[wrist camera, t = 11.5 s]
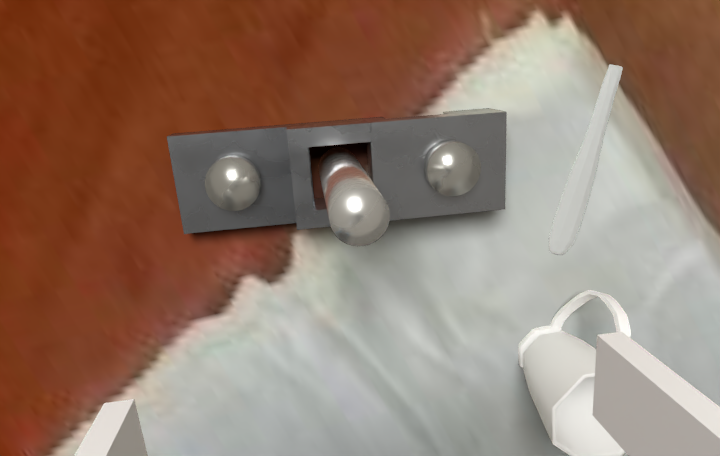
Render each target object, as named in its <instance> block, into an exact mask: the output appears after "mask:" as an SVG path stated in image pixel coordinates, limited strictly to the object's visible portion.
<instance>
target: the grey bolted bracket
mask: <svg viewBox="0 0 720 456" xmlns="http://www.w3.org/2000/svg"><path fill="white" fill-rule="evenodd" d="M167 140H168V146H169V152H170V157H171V163H172V168H173V174H174V180H175V185H176V191H177V196H178V202H179V208H180V213H181V219H182V224H183V230H184V234H188V233H198V232H208V231H219V230H229V229H239V228H249V227H260V226H270V225H280V224H290V223H297V230H300V229H310V228H320V227H330V226H331V225H330V221H329V216H328V212H327V207H326V203H325V198H315V199H314V193H313V183H312V172H311V162H310V152H309V147H316V146H328V145H340V144H352V143H363V142H366V143H367V159H368V175H369V177H370V179H371V180H372V182H373V183H374V185H375V186H376V188H377V189H378V190H379V192H380V193H381V195H382V196H383V198H384V199H385V201H386V203H387V205H388V207H389V211H390V220H389V221H391V220H401V219H411V218H421V217H431V216H441V215H451V214H461V213H471V212H481V211H492V210H502V209H505V171H506V112H505V111H500V110H495V109H490V108H486V109H473V110H461V111H449V112H443V114H440V115H428V116H416V117H403V118H391V119H385V118H383V117H374V118H361V119H349V120H337V121H324V122H312V123H299V124H287V125H274V126H262V127H250V128H237V129H225V130H212V131H200V132H187V133H175V134H171V135H169V136H167Z"/></svg>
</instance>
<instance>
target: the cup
mask: <svg viewBox="0 0 720 456" xmlns="http://www.w3.org/2000/svg"><path fill="white" fill-rule="evenodd" d="M595 297H599V298H600V299H601V300H603V301H604V302H605V303H606V305H607V306H608V308H609V309H610V311H611V312H612V314H613V316H614V321H615V326H616V332H623V333H624V334H626V335H627V336H628V337H630V335H631V330H630V326H629V321H628V317H627V314H626V313H625V312H624V310H623V309H622V307H621V306H620V304H619V303H618V302H617V301H616V300H615V299H614V298H613V297H611V296H610V295H609V294H605V293H601V292H596V291H592V290H588V291H585V292H583V293H580V294H578V295H577V296H576V297H574V298H573V299H572V300H570V301H569V302H568V303H567V304H565V305H564V306H563V307H562V308H561V309H560V310H559V311H558V312H557V314H556V315H555V316H554V317H553V319H552V321H551V324H550V326H544V327H538V328H533V329H532V330H531V331H530V332H529V333H528V334H527V336H526V337H525V338H524V339H523V340H522V341H521V342H520V343H519V344H518V356H519V365H520V366H521V367H522V368H523V369H524V375H525V378H526V382H527V385H528V389H529V392H530V395H531V397H532V399H533V401H534V404H535V406H536V408H537V410H538V412H539V414H540V417H541V419H542V421H543V424H544V426H545V428H546V431H547V433H548V435H549V437H550V440H551V442H552V444H553V445H555V446H556V447H558V448H559V449H561V450H562V451H564V452H565V453H567V454H568V455H570V456H622V455H623V454H624V453H625V451H624V450H623V449H622V448H621V447H620V446H619V445H618V443H617V442H616V441H615V440H614V439H613V438H612V437H611V436H610V434H609V433H608V432H607V431H606V430H605V429H604V428H603V427H602V425H601V424H600V423H599V422H598V421H597V420H596V419H595V418H594V416H593V415H592V414H593V397H594V380H595V363H596V349H595V348H594V347H592V346H591V345H589V344H588V343H586V342H585V341H583V340H581V339H580V338H577V337H575V336H573V335H570V334H568V333H566V332H564V331H562V330H561V328H562V325H563V323H564V321H565V320H566V319H567V318H568V317H569V316H570V314H571V313H572V312H574V311H575V310H576V309H578V308H579V307H580V306H581V305H583V304H584V303H586V302H587V301H589V300H591V299H593V298H595Z"/></svg>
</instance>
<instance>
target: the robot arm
mask: <svg viewBox="0 0 720 456" xmlns="http://www.w3.org/2000/svg"><path fill="white" fill-rule="evenodd" d="M592 415H593V416H594V418H595V419H596V420H597V421H598V422H599V423H600V424H601V425H602V427H603V428H604V429H605V430H606V431H607V432H608V433H609V434H610V436H611V437H612V438H613V439H614V440H615V441H616V442H617V443H618V445H619V446H620V447H621V448H622V449H623V450H624V451H625V452H626V454H627V455H628V456H720V407H719V406H718V405H716V404H715V403H714V402H713V401H711V400H710V399H709V398H707V397H706V396H705V395H703V394H702V393H701V392H700V391H698V390H697V389H696V388H694V387H693V386H692V385H690V384H689V383H688V382H687V381H685V380H684V379H683V378H681V377H680V376H679V375H678V374H676V373H675V372H674V371H672V370H671V369H670V368H668V367H667V366H666V365H665V364H663V363H662V362H661V361H659V360H658V359H657V358H655V357H654V356H653V355H652V354H650V353H649V352H648V351H646V350H645V349H644V348H642V347H641V346H640V345H639V344H637V343H636V342H635V341H633V340H632V339H631V338H630V337H628V336H627V335H626V334H624V333H623V332H615V333H608V334H600V335H597V346H596V363H595V380H594V397H593V414H592ZM74 456H148V455H147V451H146V447H145V443H144V438H143V434H142V430H141V426H140V422H139V418H138V413H137V409H136V405H135V401H134V399H131V400H124V401H117V402H110V403H104V405H103V407H102V408H101V410H100V412H99V414H98V415H97V417H96V419H95V420H94V422H93V424H92V426H91V427H90V429H89V431H88V432H87V434H86V436H85V438H84V439H83V441H82V443H81V445H80V446H79V448H78V450H77V451H76V453H75V455H74Z"/></svg>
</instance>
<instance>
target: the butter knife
mask: <svg viewBox="0 0 720 456" xmlns="http://www.w3.org/2000/svg"><path fill="white" fill-rule="evenodd" d="M622 69H623V67H621V66H616V65H611V64H610V65H609V68H608V70H607V73H606V75H605V78H604V81H603V83H602V86H601V90H600V93H599V96H598V99H597V102H596V105H595V108H594V111H593V114H592V117H591V120H590V124H589V127H588V130H587V132H586V135H585V137H584V140H583V142H582V145H581V147H580V150H579V152H578V155H577V157H576V159H575V162H574V164H573V167H572V169H571V171H570V174H569V177H568V180H567V183H566V185H565V188H564V191H563V194H562V197H561V200H560V203H559V206H558V208H557V211H556V214H555V218H554V221H553V224H552V228H551V231H550V235H549V251H550V252H551V253H554V254H559V255H563V254H565V253H566V252H567V251H568V250H569V249H570V247H571V246H572V245H573V244H574V241H575V239H576V237H577V234H578V231H579V229H580V226H581V223H582V220H583V217H584V214H585V210H586V207H587V204H588V200H589V197H590V193H591V190H592V186H593V183H594V179H595V175H596V171H597V166H598V161H599V156H600V152H601V148H602V143H603V139H604V135H605V131H606V127H607V124H608V120H609V116H610V112H611V108H612V105H613V101H614V97H615V94H616V90H617V87H618V84H619V81H620V77H621V73H622Z"/></svg>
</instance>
